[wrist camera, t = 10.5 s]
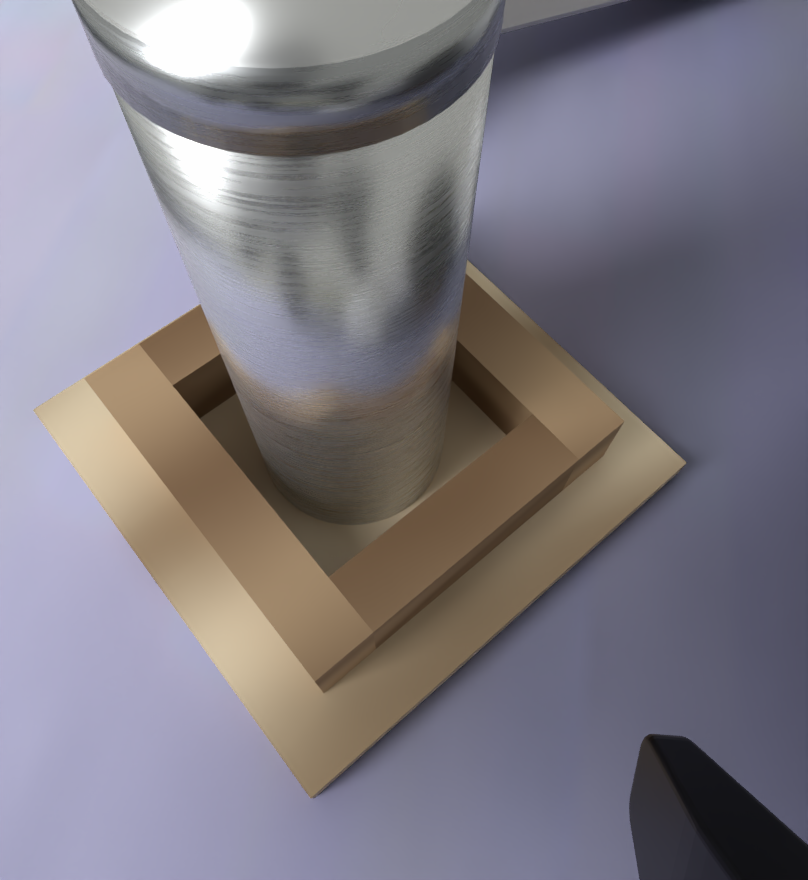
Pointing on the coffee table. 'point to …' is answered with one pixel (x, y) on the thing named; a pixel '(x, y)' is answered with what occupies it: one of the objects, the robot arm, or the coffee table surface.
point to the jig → (357, 546)
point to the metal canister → (318, 214)
